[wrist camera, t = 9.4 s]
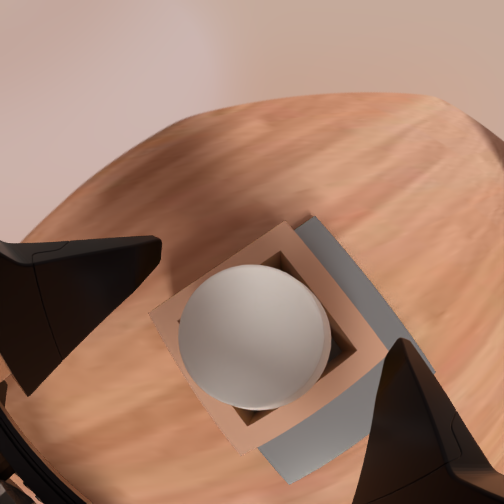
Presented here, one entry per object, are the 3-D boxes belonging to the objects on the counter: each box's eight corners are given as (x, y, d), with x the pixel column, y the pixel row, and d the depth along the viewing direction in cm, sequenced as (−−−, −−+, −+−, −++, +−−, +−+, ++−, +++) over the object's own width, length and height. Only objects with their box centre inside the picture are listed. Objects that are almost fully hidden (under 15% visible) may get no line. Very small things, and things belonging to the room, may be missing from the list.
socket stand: (428, 371, 15) (464, 372, 10) (289, 478, 13) (289, 510, 9) (313, 222, 20) (320, 187, 15) (174, 317, 18) (144, 305, 14)
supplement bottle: (295, 289, 17) (310, 215, 8) (323, 370, 15) (377, 392, 6) (213, 316, 17) (138, 271, 8) (237, 397, 15) (184, 448, 6)
